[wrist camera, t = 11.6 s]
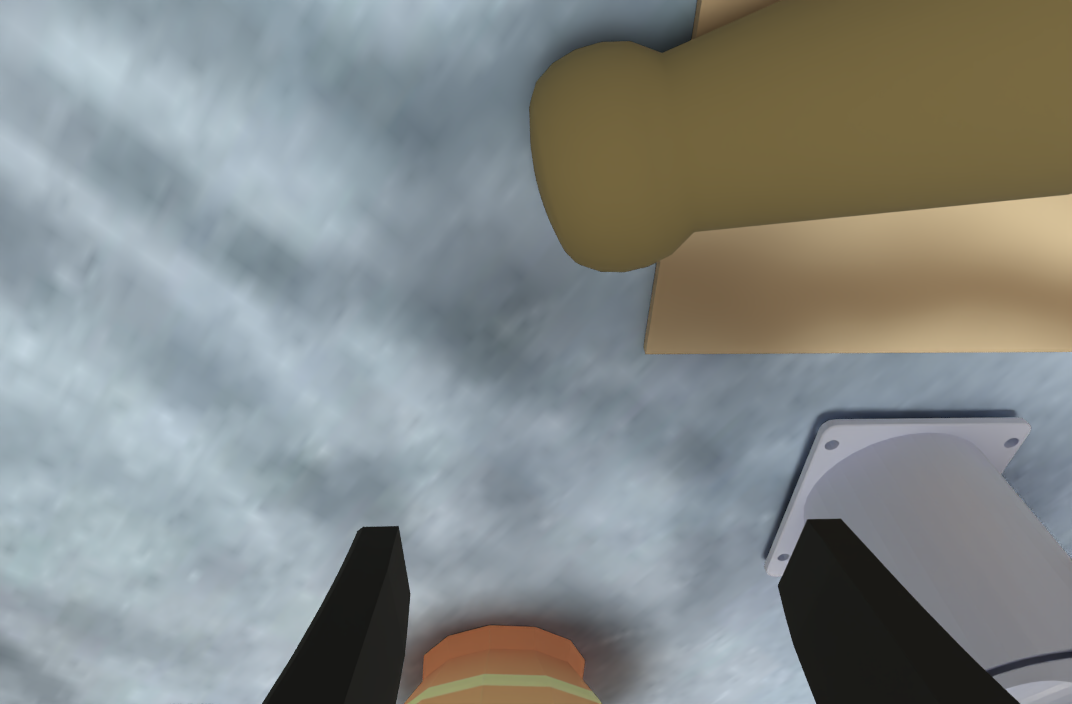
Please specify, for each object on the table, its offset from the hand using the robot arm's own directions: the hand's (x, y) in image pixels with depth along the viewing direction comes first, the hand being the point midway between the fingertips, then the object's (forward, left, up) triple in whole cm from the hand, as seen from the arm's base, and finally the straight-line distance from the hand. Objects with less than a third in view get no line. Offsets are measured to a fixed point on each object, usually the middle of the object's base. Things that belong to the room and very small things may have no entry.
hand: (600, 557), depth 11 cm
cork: (+7, -10, -7) cm, 14 cm away
